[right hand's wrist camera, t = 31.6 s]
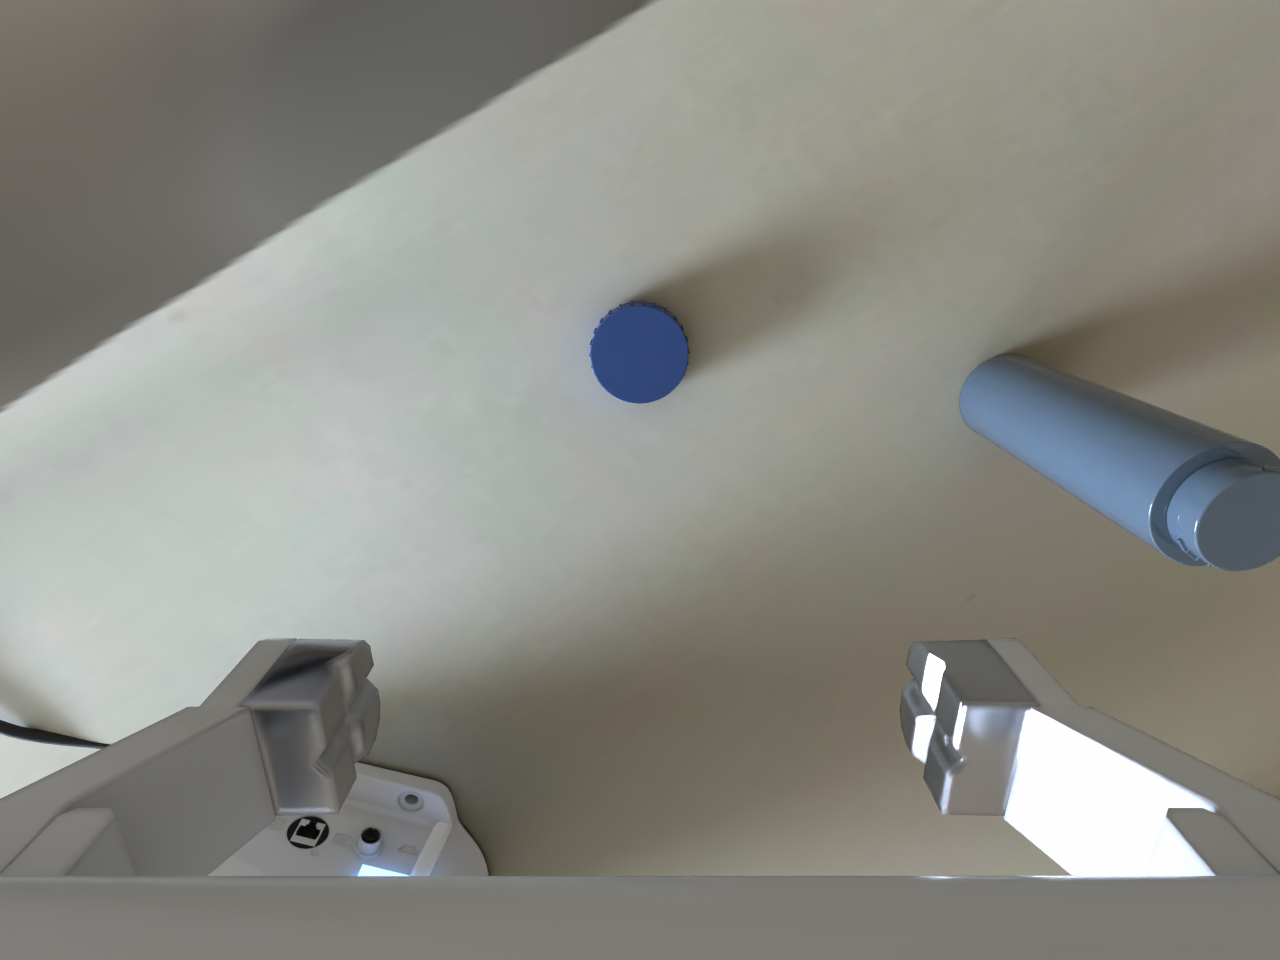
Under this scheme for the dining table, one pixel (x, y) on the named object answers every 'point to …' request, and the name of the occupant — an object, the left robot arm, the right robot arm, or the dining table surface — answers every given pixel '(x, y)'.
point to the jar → (1133, 462)
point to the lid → (639, 352)
